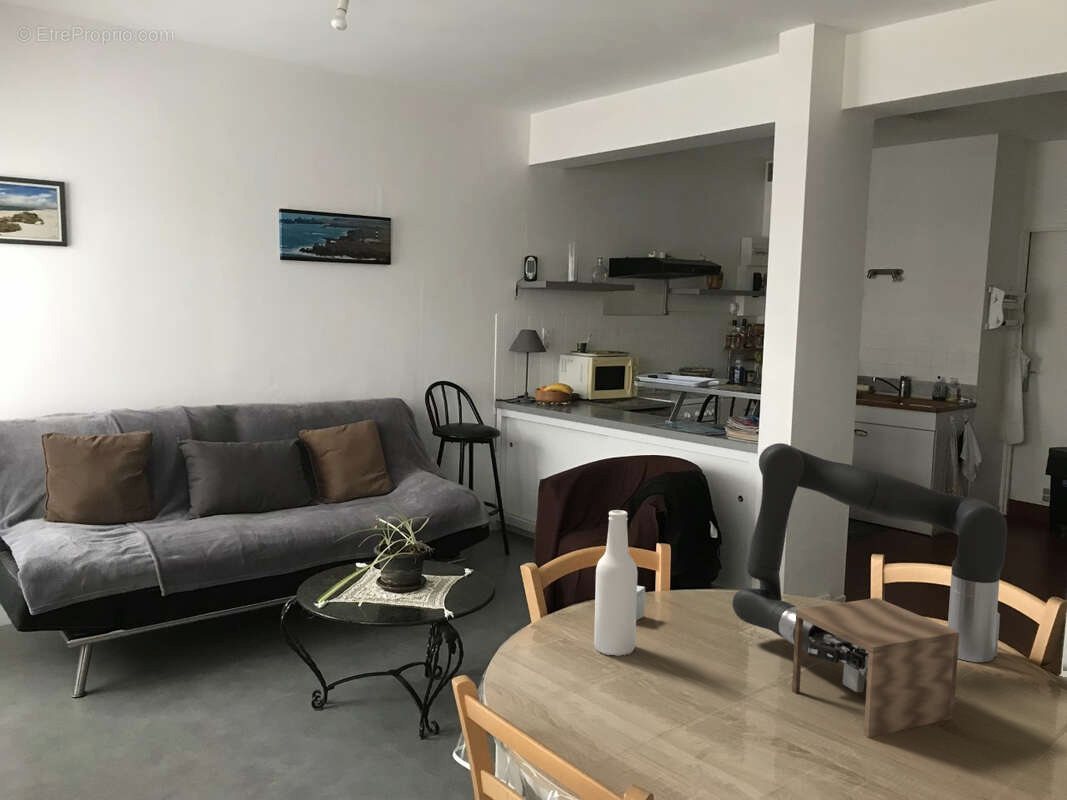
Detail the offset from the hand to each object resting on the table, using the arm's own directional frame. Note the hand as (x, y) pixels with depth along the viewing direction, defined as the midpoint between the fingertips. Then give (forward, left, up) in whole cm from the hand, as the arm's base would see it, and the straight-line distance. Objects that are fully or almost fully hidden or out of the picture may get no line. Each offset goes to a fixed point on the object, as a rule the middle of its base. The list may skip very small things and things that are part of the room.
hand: (868, 663), depth 169 cm
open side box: (0, +1, -8) cm, 8 cm away
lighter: (0, -2, -6) cm, 7 cm away
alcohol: (+32, -40, -8) cm, 52 cm away
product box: (+20, -56, -8) cm, 60 cm away
